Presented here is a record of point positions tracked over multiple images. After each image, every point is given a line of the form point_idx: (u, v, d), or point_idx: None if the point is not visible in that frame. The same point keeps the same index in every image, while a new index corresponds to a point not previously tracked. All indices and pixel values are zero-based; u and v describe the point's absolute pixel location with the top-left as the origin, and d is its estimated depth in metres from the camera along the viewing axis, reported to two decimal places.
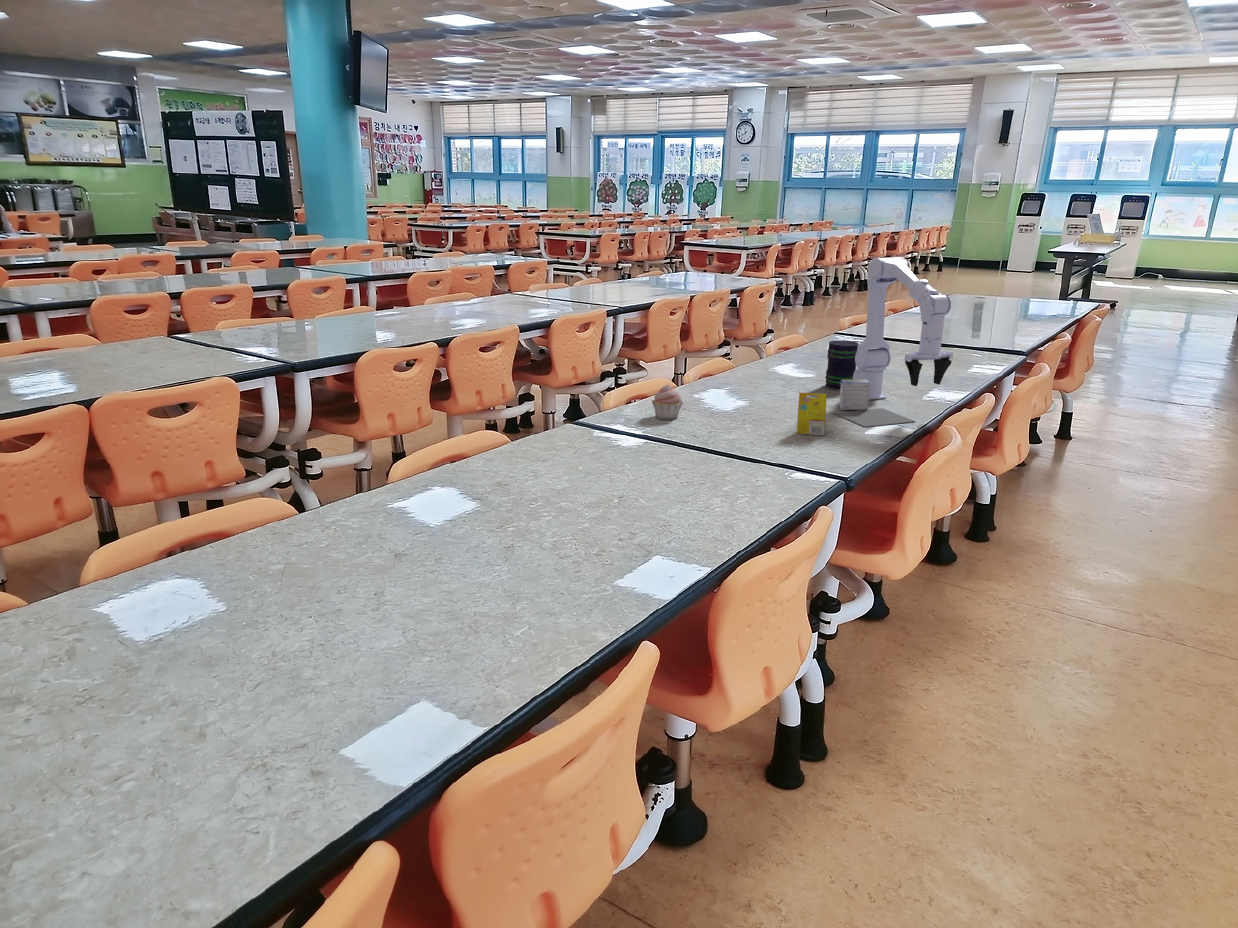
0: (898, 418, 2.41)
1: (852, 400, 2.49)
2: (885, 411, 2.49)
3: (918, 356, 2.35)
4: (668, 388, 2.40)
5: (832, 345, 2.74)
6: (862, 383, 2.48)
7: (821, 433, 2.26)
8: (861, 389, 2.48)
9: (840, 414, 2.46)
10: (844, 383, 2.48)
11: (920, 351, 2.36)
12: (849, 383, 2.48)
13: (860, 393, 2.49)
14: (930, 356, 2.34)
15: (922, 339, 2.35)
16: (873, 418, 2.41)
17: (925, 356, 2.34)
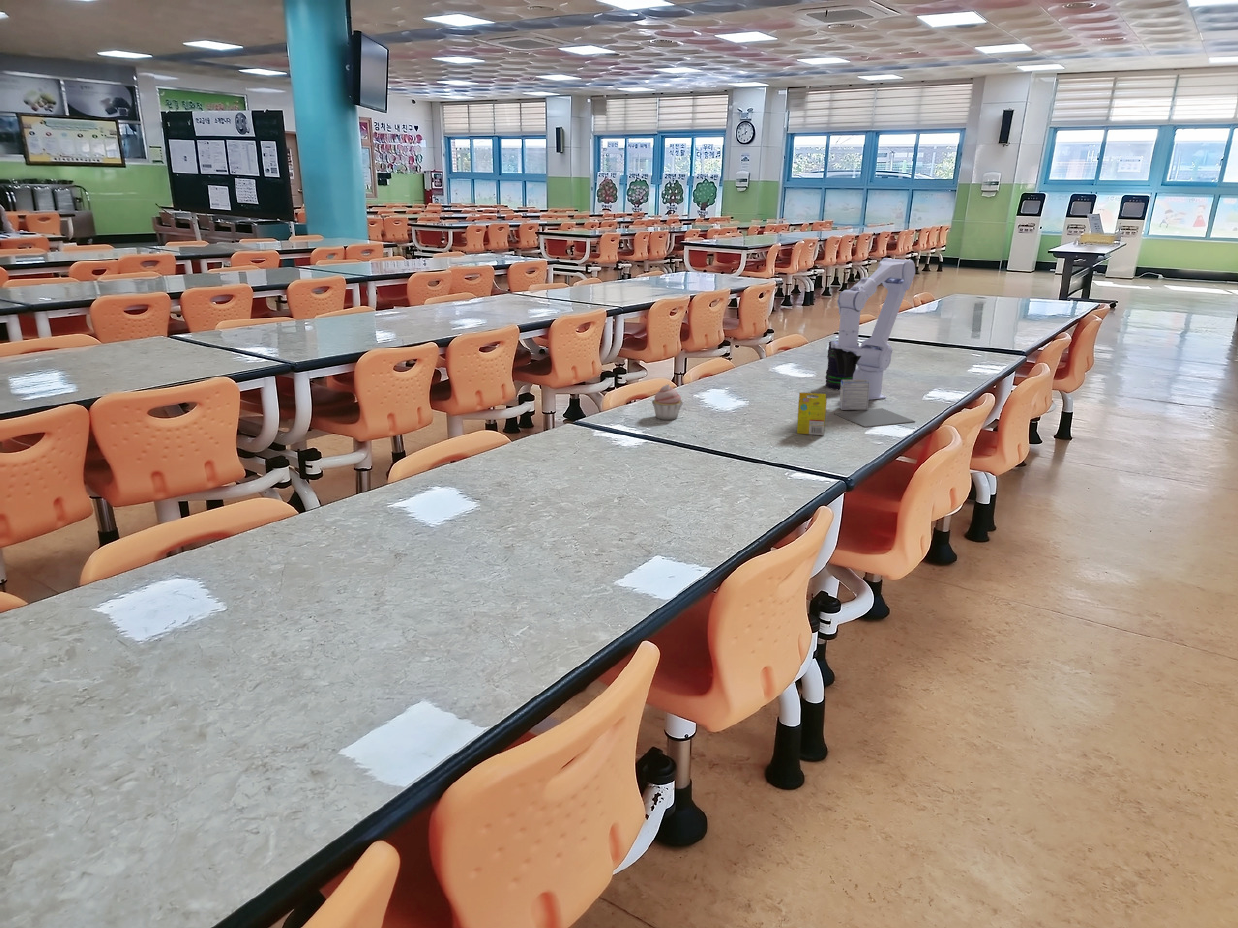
0: (898, 418, 2.41)
1: (852, 400, 2.49)
2: (885, 411, 2.49)
3: (834, 344, 2.55)
4: (668, 388, 2.40)
5: None
6: (862, 383, 2.48)
7: (821, 433, 2.26)
8: (861, 389, 2.48)
9: (840, 414, 2.46)
10: (844, 383, 2.48)
11: None
12: (849, 383, 2.48)
13: (860, 393, 2.49)
14: None
15: None
16: (873, 418, 2.41)
17: (835, 345, 2.54)
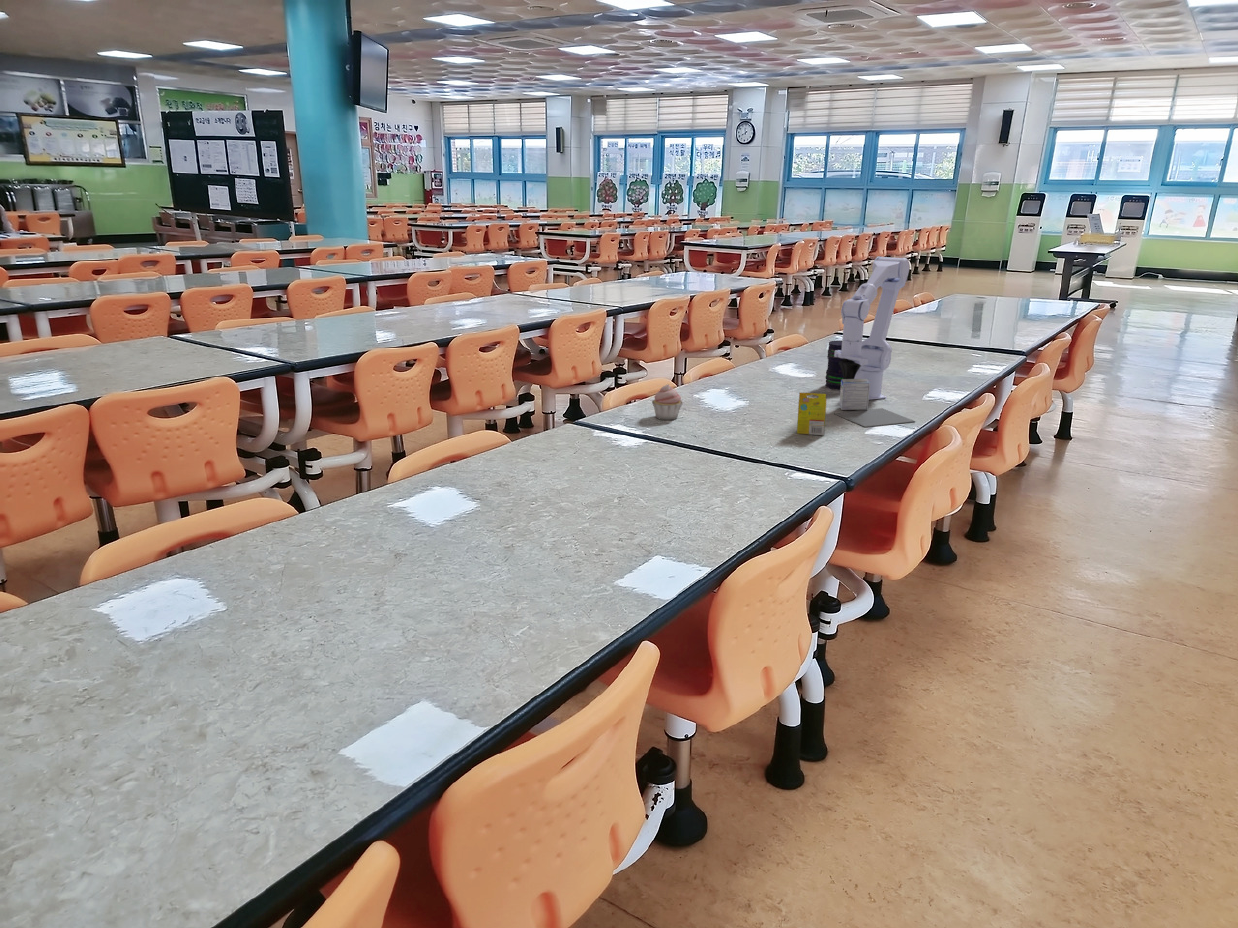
0: (898, 418, 2.41)
1: (852, 400, 2.49)
2: (885, 411, 2.49)
3: (837, 353, 2.54)
4: (668, 388, 2.40)
5: (832, 345, 2.74)
6: (862, 384, 2.47)
7: (821, 433, 2.26)
8: (861, 389, 2.48)
9: (840, 414, 2.46)
10: (844, 384, 2.48)
11: None
12: (849, 384, 2.47)
13: (860, 393, 2.48)
14: (840, 355, 2.51)
15: None
16: (873, 418, 2.41)
17: (839, 354, 2.52)
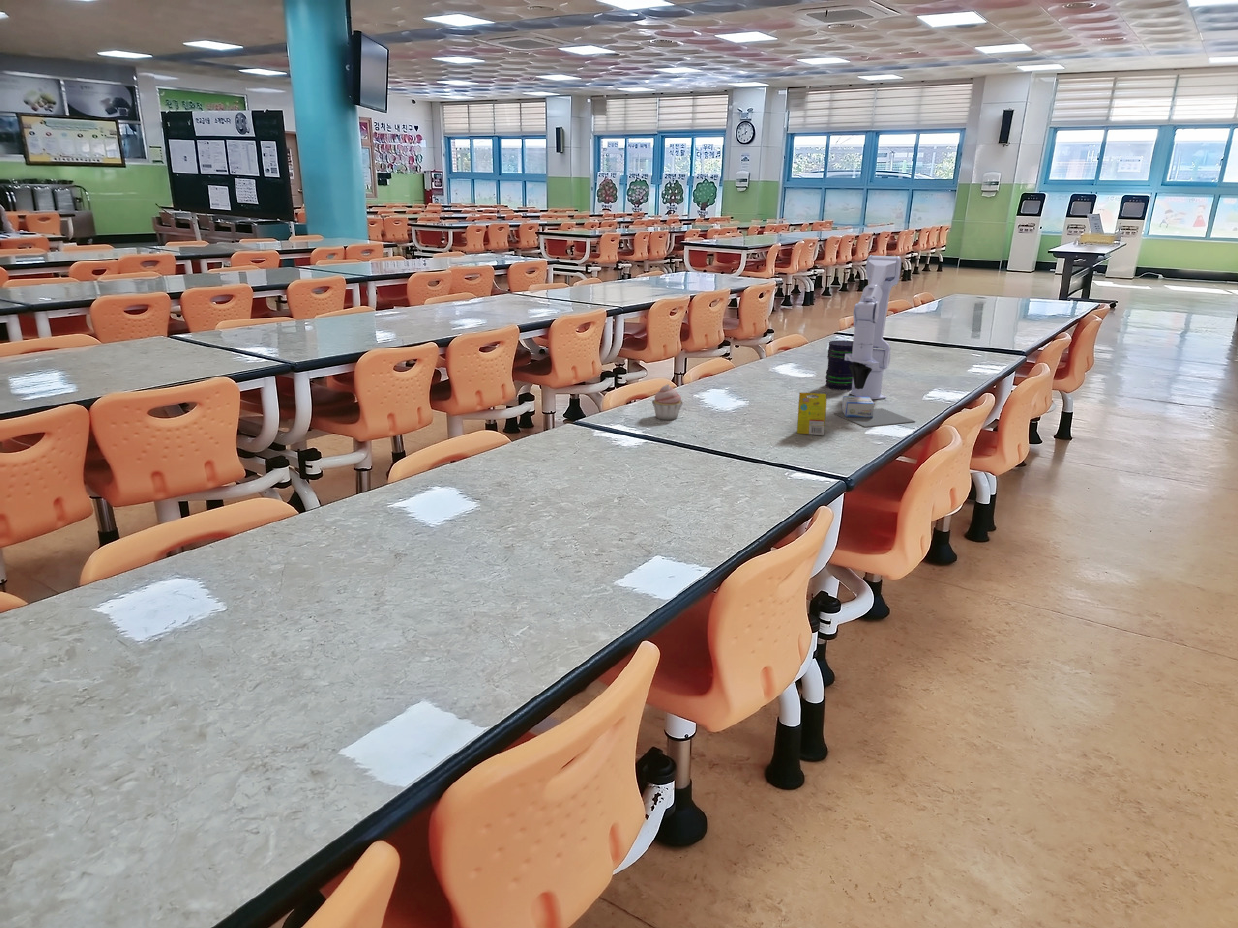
0: (898, 418, 2.41)
1: None
2: (885, 411, 2.49)
3: (848, 357, 2.49)
4: (668, 388, 2.40)
5: (832, 345, 2.74)
6: None
7: (821, 433, 2.26)
8: None
9: (840, 414, 2.46)
10: (847, 416, 2.43)
11: None
12: (852, 416, 2.43)
13: None
14: None
15: None
16: (873, 418, 2.41)
17: (849, 358, 2.47)
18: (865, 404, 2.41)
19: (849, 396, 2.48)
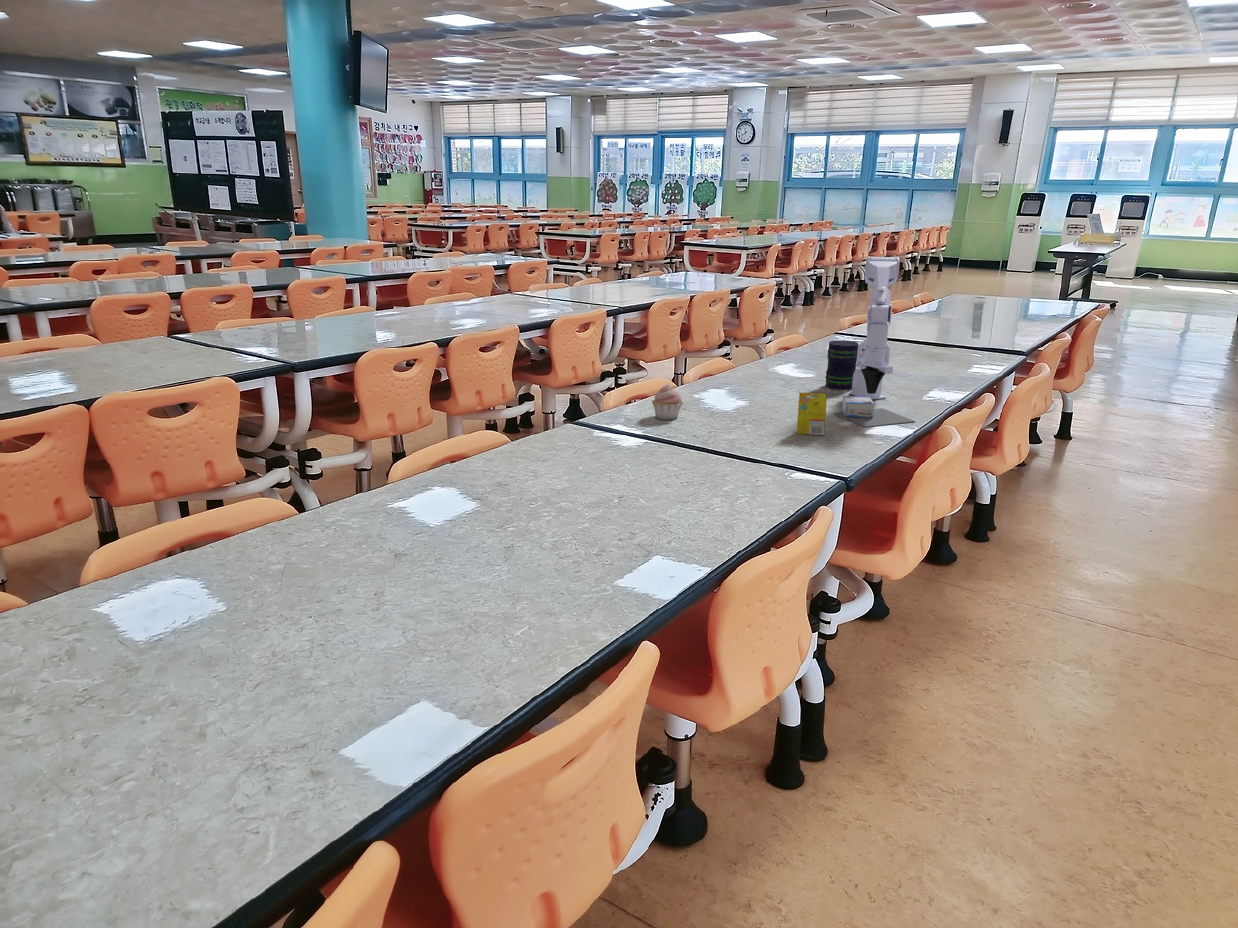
0: (898, 418, 2.41)
1: None
2: (885, 411, 2.49)
3: (860, 360, 2.44)
4: (668, 388, 2.40)
5: (832, 345, 2.74)
6: None
7: (821, 433, 2.26)
8: None
9: (840, 414, 2.46)
10: (847, 416, 2.43)
11: None
12: (852, 416, 2.43)
13: None
14: None
15: None
16: (873, 418, 2.41)
17: (862, 362, 2.42)
18: (865, 404, 2.41)
19: (849, 396, 2.48)
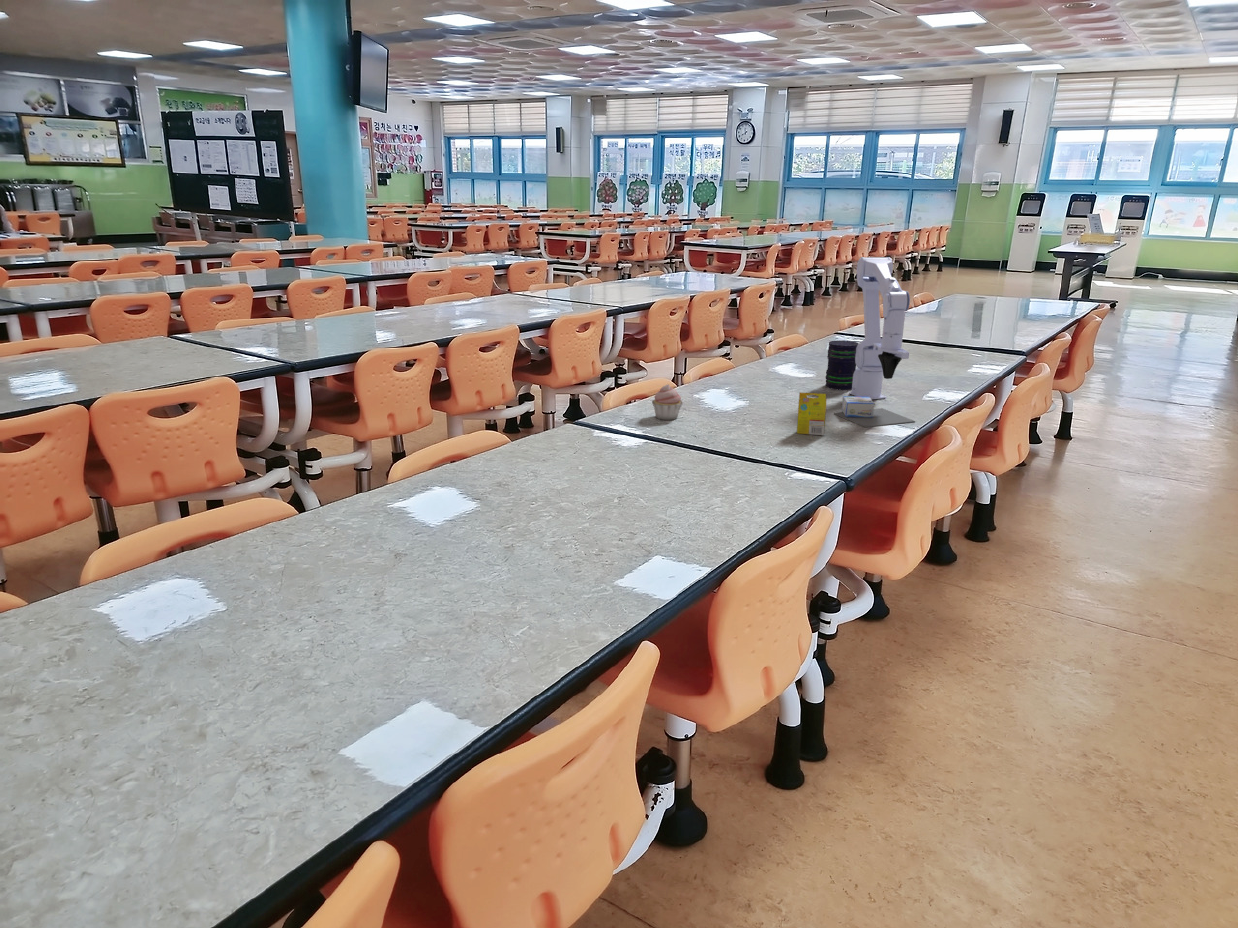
0: (898, 418, 2.41)
1: None
2: (885, 411, 2.49)
3: (877, 346, 2.49)
4: (668, 388, 2.40)
5: (832, 345, 2.74)
6: None
7: (821, 433, 2.26)
8: None
9: (840, 414, 2.46)
10: (847, 416, 2.43)
11: None
12: (852, 416, 2.43)
13: None
14: None
15: None
16: (873, 418, 2.41)
17: (879, 347, 2.48)
18: (865, 404, 2.41)
19: (849, 396, 2.48)
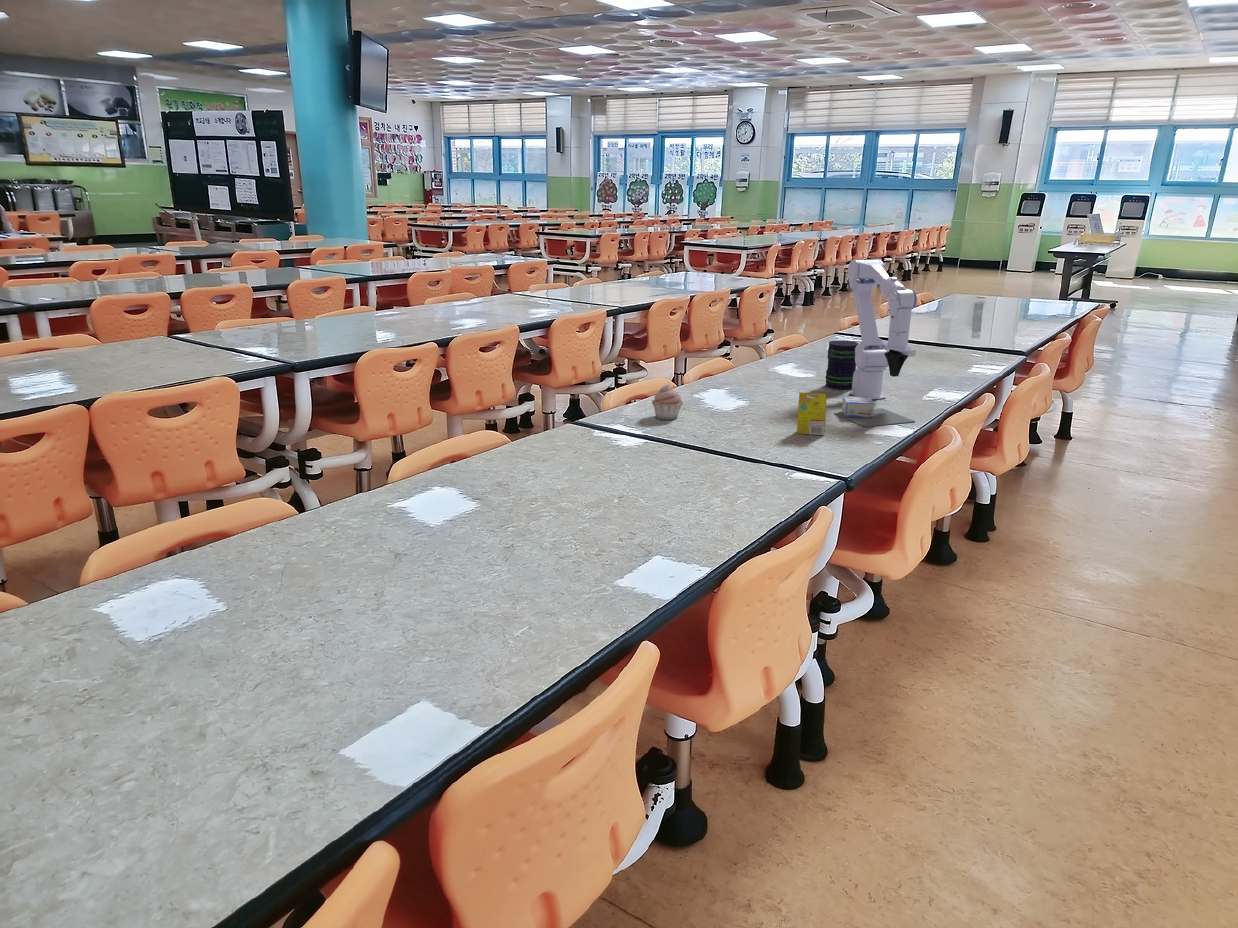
0: (898, 418, 2.41)
1: None
2: (885, 411, 2.49)
3: (883, 344, 2.52)
4: (668, 388, 2.40)
5: (832, 345, 2.74)
6: None
7: (821, 433, 2.26)
8: None
9: (840, 414, 2.46)
10: (847, 416, 2.43)
11: None
12: (852, 416, 2.43)
13: None
14: None
15: None
16: (873, 418, 2.41)
17: (885, 345, 2.50)
18: (865, 404, 2.41)
19: (849, 396, 2.48)
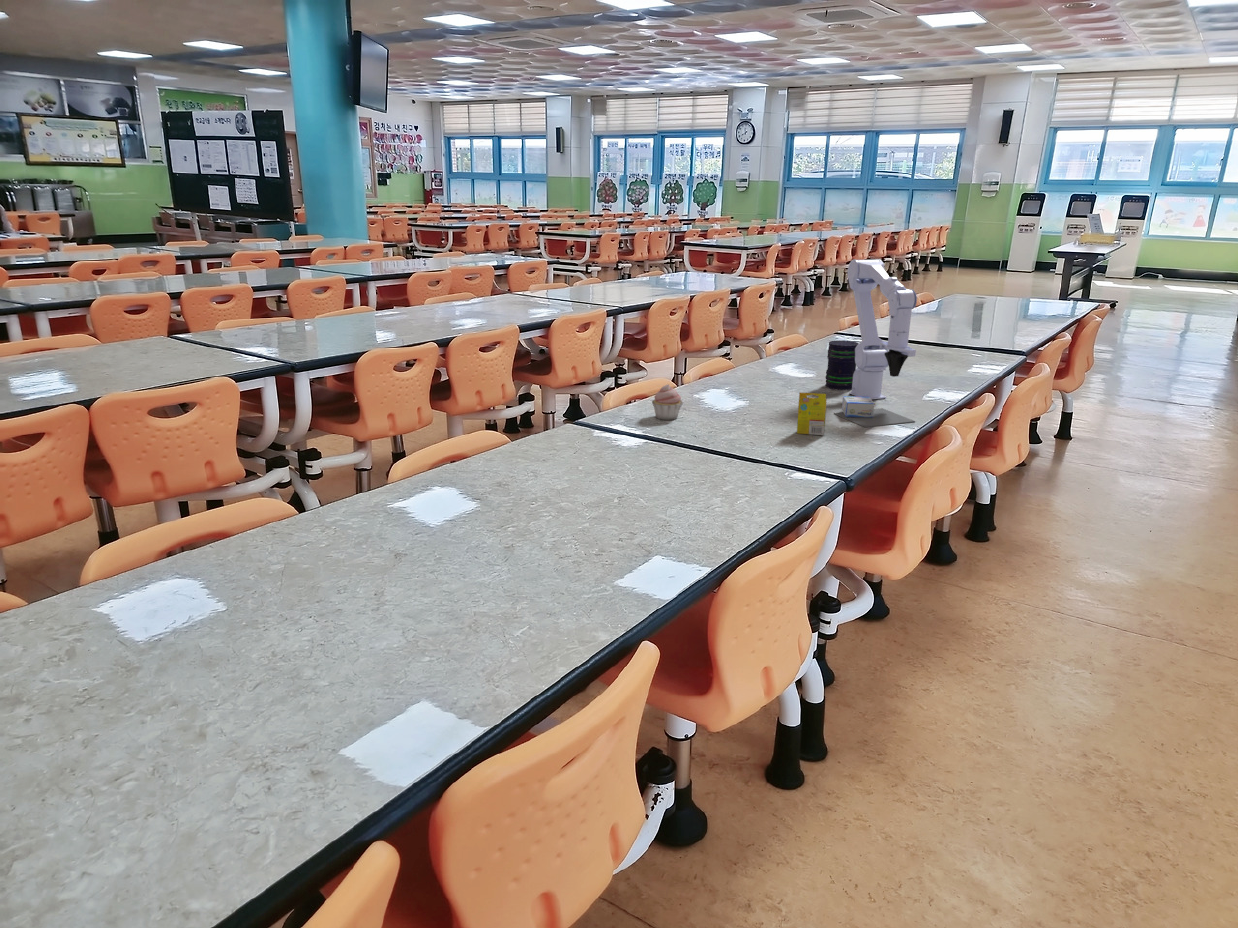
0: (898, 418, 2.41)
1: None
2: (885, 411, 2.49)
3: (883, 344, 2.52)
4: (668, 388, 2.40)
5: (832, 345, 2.74)
6: None
7: (821, 433, 2.26)
8: None
9: (840, 414, 2.46)
10: (847, 416, 2.43)
11: None
12: (852, 416, 2.43)
13: None
14: None
15: None
16: (873, 418, 2.41)
17: (885, 345, 2.50)
18: (865, 404, 2.41)
19: (849, 396, 2.48)
